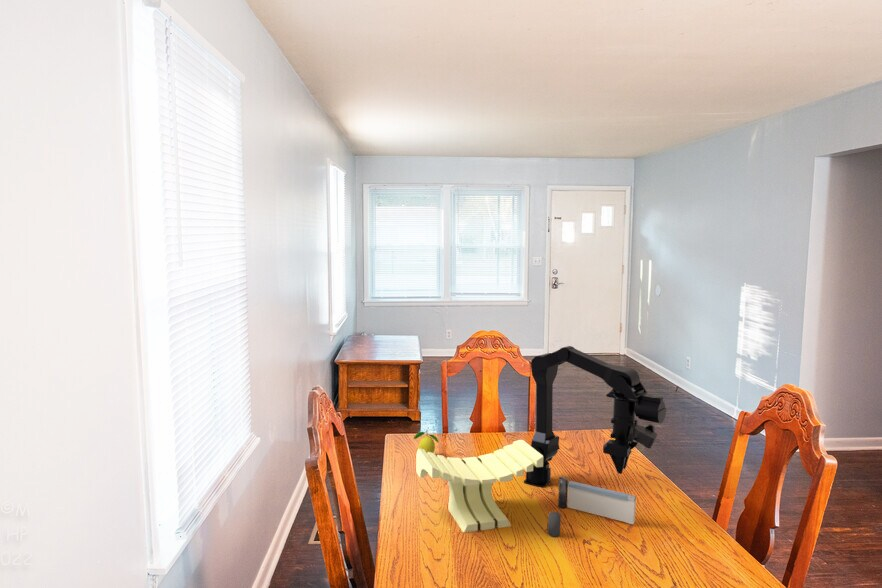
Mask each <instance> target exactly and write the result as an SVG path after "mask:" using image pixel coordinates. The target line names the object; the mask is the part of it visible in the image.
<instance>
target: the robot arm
mask: <svg viewBox="0 0 882 588" xmlns="http://www.w3.org/2000/svg"><path fill="white" fill-rule="evenodd" d="M564 363H568V364H570V365H573V366H575V367H577V368H579V369H581V370H583V371H586V372H588V373H590V374H591V375H593V376H596V377H598V378H599V379H601V380H603V382H604V383H605V384H606V385H607V386H608V387H610V388H612V389H611V391H609V392H608V393H606V395H605V396H606V397H607V398H610V399H611V398H612V399H613V410H612V414H613V415H612V418H611V419H610V423H611V424H612V432H611V433H610V438H611V439H609V440H607V441H606V442H605V443H604V444H603V449H602V453H603V454H605V455H609V456H610V458H611V461H612V463H613V465H614V468H615V470H616V472H617V473H618V474H620V475H622V474H623V471H624V470H625V469H626V468H627V465H628V461H629V459H630V455H631V453H632V452H633V451H632V450H633V449H634V448H635V447H636V446H637V445H638V444H640V445H643V446H644V447H645V449H652V446H654V443H655V441H656V439H657V437H658V433H657V432H656V430H655V425H653V424H651V423H652V422H653V423H657V424H662V423H664V421H665V418H666V414H667V407H666V404H665V402H664V397H663V396H659V395H657V396H656V395H652V394H651V395H649V394H648V391H647V389H646V388H645V387H644V384H642V382H641V380H640V375H639V374H638V373H639V372H638V371H636V370H635V369H633V368H630V367H626V366H622V365H616V364H610V363H608V362H605V361H603V360H601V359H599V358H596V357H595V356H593V355H590V354H588V353H585V352H584V351H582V350H578V349H577V348H575V347H574V346H571V345H567V346H563V347H560V348H559V349H558V350H556V351H553V352H551V353H549V352H548V353H543V354H539V355H537V356H535V357H533V358H532V359H531V360H530V368H531V369H530V370H531V376H532V378H533V379H534V381H535V384H536V388H535V389H536V393H535V395H536V396H535V399H536V401H535V403H536V408H535V411H536V412H535V417H536V418H535V419H536V421H535V424H536V425H535V432H534V434H533V437H532V439H531V444H530V446H531V447H532V448H534V449H535V450H536V451H538V452H539V453H540V454H541V455H543V467H535V466H534V465H533V471H531V472H526V471H525V479H524V480H523V483H524V484H528V485H532V486H537V487H540V488H545V487H546V486H547V485H548V484H549V483H550V481H551V475H552V474H551V473H552V472H551V471H552V469H551V467H550V462H551V461H552V460H553V457H555V456H556V455H557V454H558V452H559V450H560V436H559V435H558V436H557V435H555V433H554V431H553V396H554V395H553V391H554V390H553V389H554V388H553V384H554V382H555V380H556V378H557V375H558V369H559V366H560V365H562V364H564ZM638 419H639V420H642V421H647V422H651V423H649V424H647V425H646V426H644V425H642V426H641V425H640V424H638V421H639V420H638Z"/></svg>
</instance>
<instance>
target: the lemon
mask: <svg viewBox="0 0 882 588" xmlns="http://www.w3.org/2000/svg"><path fill="white" fill-rule="evenodd" d="M425 433H426V435H425ZM424 435H425V436H424ZM422 436H423V437H422ZM420 437H422V438H421V439H420V440H419V443H418V449H424V450H425V451H426V453H428V452H431V453H434V454H435V450H436V445H435V441H436V442H437V443H439V439H438V438H437V436H435V435H434V434H428V430H426V431H418V432H417V433H416V434H415V435H414V437H413V440H416V439H418V438H420Z"/></svg>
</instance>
